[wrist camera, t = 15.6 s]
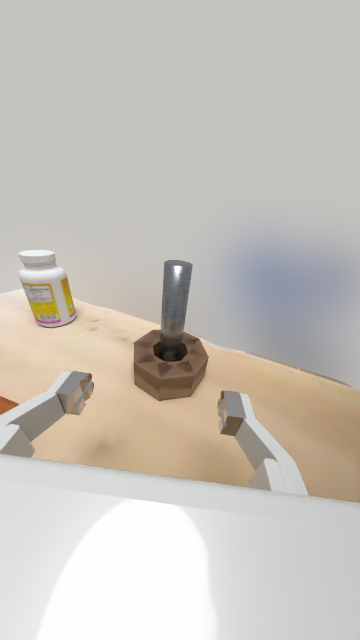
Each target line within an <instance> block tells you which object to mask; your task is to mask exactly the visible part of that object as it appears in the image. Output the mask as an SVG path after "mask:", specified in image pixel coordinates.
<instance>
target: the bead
mask: <svg viewBox="0 0 360 640" xmlns="http://www.w3.org/2000/svg"><path fill="white" fill-rule="evenodd" d="M160 333H161V330H152V331H151V332H149V333H148V334H146V335H145V336H143V337H142V338H140V339H139V340H137V341H136V342H134V375H135V385H137V386H138V387H140V388H141V389H143V390H144V391H145V392H147V393H148V394H150V395H151V396H153V397H154V398H156V399H157V400H159V401H160V400H168V399H175V398H182V397H189V396H191V394H192V393H193V391H194V390H195V389H196V387H197V386H198V384H199V383H200V381H201V380H202V378H203V377H204V373H205V369H206V365H207V361H208V355H207V353H206V351H205V349H204V347H203V345H202V343H201V341H200V339H199V338H196V337H194V336H192V335H190V334H187V333H185V332H183V338H182V345H181V353H180V360H179V361H176V362H165V361H163V360H161V359H159V351H160Z"/></svg>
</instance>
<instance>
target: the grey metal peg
mask: <svg viewBox="0 0 360 640" xmlns="http://www.w3.org/2000/svg"><path fill="white" fill-rule="evenodd" d="M191 272H192V264H191V263H188V262H184V261H178V260H168V261H165V263H164V280H163V297H162V298H163V299H162V316H161V333H160V351H159V359H161V360H163V361H165V362H176V361H179V360H180V353H181V345H182V338H183V331H184V324H185V316H186V309H187V302H188V294H189V286H190V280H191Z"/></svg>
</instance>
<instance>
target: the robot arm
mask: <svg viewBox="0 0 360 640" xmlns="http://www.w3.org/2000/svg"><path fill="white" fill-rule="evenodd" d="M91 379H92V375H91V374H89V373H83V372H77V371H70V370H65V371H63V372H62V374H61V375H60V376H59V377H58V378H57V379H56V381H55V382H54V383H53V384H52V385H51V386H50V388H49V389H48V390H47V391H46V392H42V393H40V394H38V395H37V396H35V397H33V398H31V399H29V400H27V401H26V402H24V403H22V404H20V405H18V406H16V407H15V408H13V409H11V410H9V411H7V412H5V413H3V414H2V415H0V640H360V503H358V502H351V501H344V500H336V499H329V498H322V497H315V496H309V494H308V492H307V489H306V487H305V484H304V482H303V480H302V477H301V475H300V472H299V470H298V467H297V465H296V462H295V461H294V460H293V459H292V457H291V456H290V455H289V454H288V453H287V452H286V451H285V450H284V448H283V447H282V446H281V445H280V444H279V443H278V442H277V441H276V439H275V438H274V437H273V436H272V435H271V434H270V433H269V432H268V430H267V429H266V428H265V427H264V426H263V425H262V424H261V423H260V421H258V420H256V418H255V415H254V412H253V408H252V405H251V402H250V398H249V395H248V394H246V393H238V392H232V391H222V392H221V398H220V399H219V401H218V415H219V417H220V421H219V427H220V434H224V435H231V436H235V438H236V440H237V442H238V443H239V445H240V446H241V448H242V450H243V451H244V453H245V454H246V456H247V458H248V459H249V461H250V462H251V464H252V466H253V467H254V469H255V472H254V474H253V475H252V476H251V478H250V479H249V485H250V488H249V487H242V486H234V485H227V484H220V483H212V482H205V481H198V480H190V479H183V478H176V477H169V476H161V475H154V474H147V473H139V472H132V471H125V470H117V469H110V468H103V467H96V466H88V465H81V464H74V463H66V462H59V461H52V460H44V459H37V458H31V456H32V455H33V453H34V452H35V448H34V447H33V445H32V444H31V441H32V440H34V439H35V438H36V437H38V436H39V435H40V434H41V433H43V432H44V431H45V430H46V429H48V428H49V427H50V426H51V425H53V424H54V423H55V422H56V421H58V420H59V419H60V418H62V417H63V416H64V415H65V414H74V415H80V414H81V412H82V410H83V409H84V407H85V405H86V402H85V401H86V400H87V399H89V398H90V397H91V395H92V393H93V389H94V383H93V382H92V381H91Z"/></svg>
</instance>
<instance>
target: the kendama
mask: <svg viewBox="0 0 360 640" xmlns="http://www.w3.org/2000/svg"><path fill="white" fill-rule="evenodd" d="M18 405H20V404H18V403H15V402H13V401H11V400H8V399H6V398H4V397H1V396H0V415H2V414H3V413H5V412H7V411H9V410H11V409H13V408H15V407H16V406H18Z"/></svg>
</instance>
